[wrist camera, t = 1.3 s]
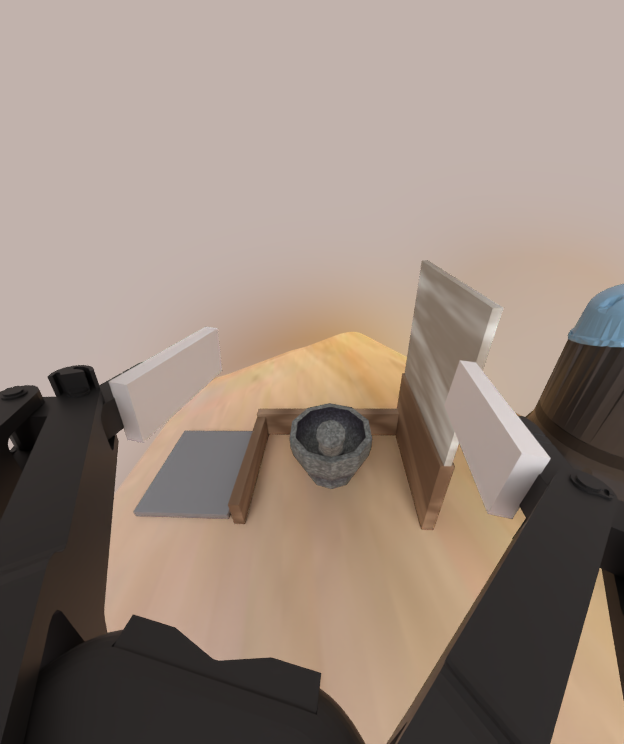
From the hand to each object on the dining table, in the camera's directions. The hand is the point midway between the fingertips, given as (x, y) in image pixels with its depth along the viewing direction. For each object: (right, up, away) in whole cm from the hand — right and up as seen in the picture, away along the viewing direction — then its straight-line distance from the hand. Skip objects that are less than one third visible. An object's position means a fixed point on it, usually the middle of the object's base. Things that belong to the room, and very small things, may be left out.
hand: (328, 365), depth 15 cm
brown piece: (+2, -13, +20) cm, 24 cm away
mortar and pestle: (+2, -13, +21) cm, 25 cm away
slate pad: (-15, -13, +22) cm, 30 cm away
